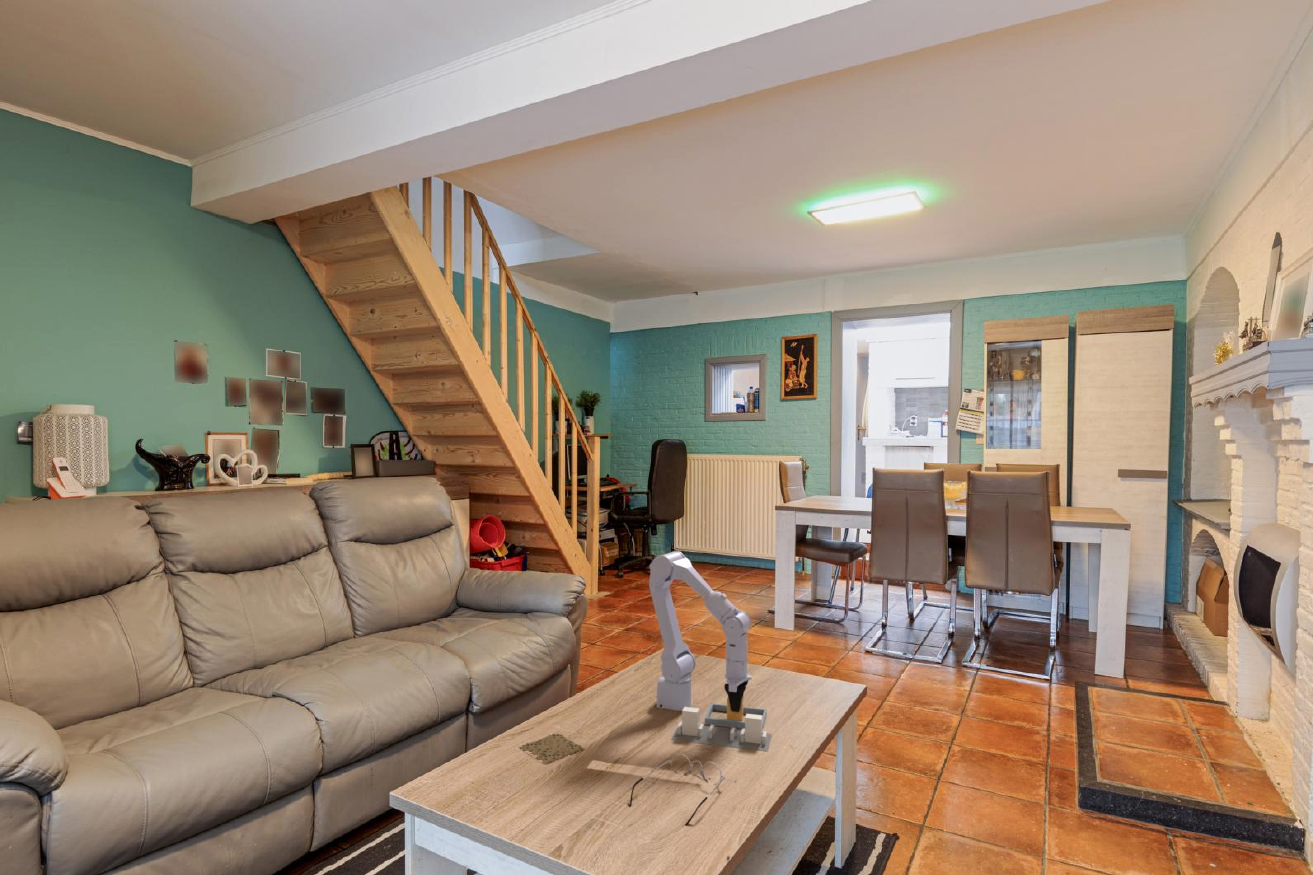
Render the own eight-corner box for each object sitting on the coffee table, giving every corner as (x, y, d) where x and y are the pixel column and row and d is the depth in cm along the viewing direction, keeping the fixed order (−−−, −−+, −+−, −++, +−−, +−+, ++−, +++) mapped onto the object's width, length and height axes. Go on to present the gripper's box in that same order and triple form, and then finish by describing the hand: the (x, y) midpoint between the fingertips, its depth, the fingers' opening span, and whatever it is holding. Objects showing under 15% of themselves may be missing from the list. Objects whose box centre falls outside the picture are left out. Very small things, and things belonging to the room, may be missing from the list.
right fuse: (745, 741, 171) (745, 717, 171) (746, 737, 174) (746, 713, 174) (761, 743, 170) (761, 719, 170) (762, 739, 173) (762, 715, 173)
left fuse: (682, 734, 175) (682, 710, 175) (684, 729, 178) (684, 706, 178) (697, 735, 174) (697, 712, 174) (699, 731, 177) (699, 708, 177)
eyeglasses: (730, 787, 153) (730, 765, 153) (691, 829, 137) (691, 804, 137) (667, 769, 161) (667, 748, 161) (623, 807, 145) (624, 783, 145)
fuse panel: (670, 745, 172) (671, 731, 172) (679, 728, 182) (679, 715, 182) (767, 757, 166) (768, 743, 166) (771, 739, 176) (771, 725, 176)
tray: (704, 729, 182) (704, 717, 182) (711, 713, 192) (711, 703, 192) (762, 736, 178) (762, 724, 178) (766, 720, 188) (766, 709, 188)
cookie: (517, 749, 170) (517, 745, 170) (558, 735, 179) (558, 731, 179) (544, 767, 162) (544, 763, 162) (585, 751, 170) (586, 747, 170)
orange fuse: (727, 721, 184) (727, 698, 184) (728, 717, 187) (728, 695, 187) (742, 722, 183) (742, 700, 183) (743, 718, 186) (743, 696, 186)
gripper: (748, 668, 177) (747, 721, 177) (754, 651, 191) (754, 700, 191) (721, 666, 178) (720, 718, 179) (729, 649, 192) (728, 697, 193)
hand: (736, 709), depth 185 cm, fingers closed on orange fuse, 2 cm apart
